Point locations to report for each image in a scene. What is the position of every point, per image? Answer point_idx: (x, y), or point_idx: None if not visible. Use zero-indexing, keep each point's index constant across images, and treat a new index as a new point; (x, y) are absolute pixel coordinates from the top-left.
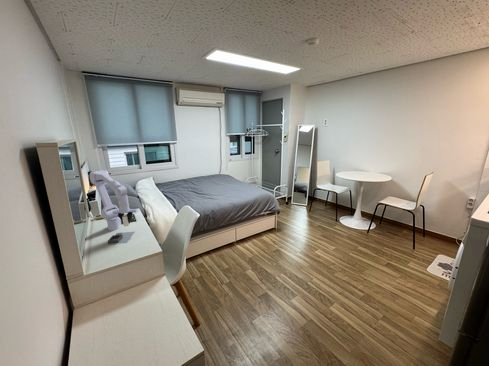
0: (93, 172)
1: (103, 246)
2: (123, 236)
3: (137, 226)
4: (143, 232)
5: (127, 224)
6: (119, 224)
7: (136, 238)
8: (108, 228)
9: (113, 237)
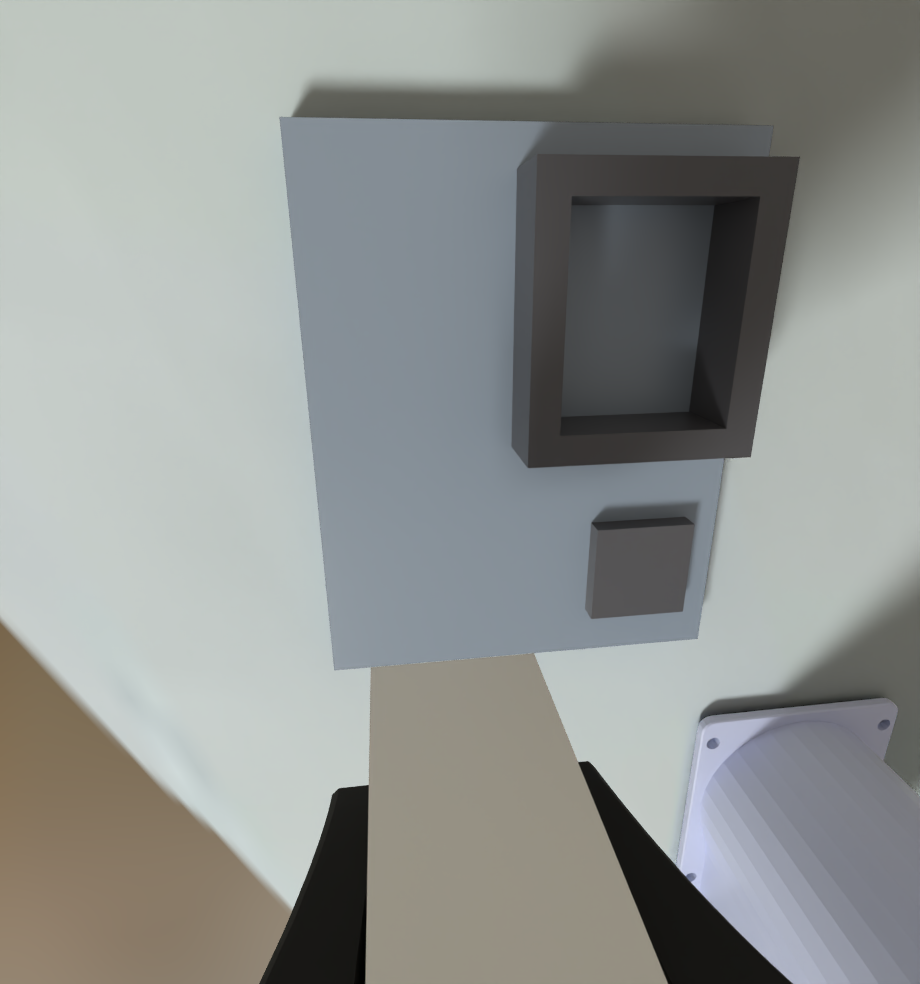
0: None
1: (818, 131)
2: (508, 481)
3: None
4: (156, 656)
5: (401, 711)
6: (736, 891)
7: (184, 405)
8: (895, 773)
9: (707, 410)
